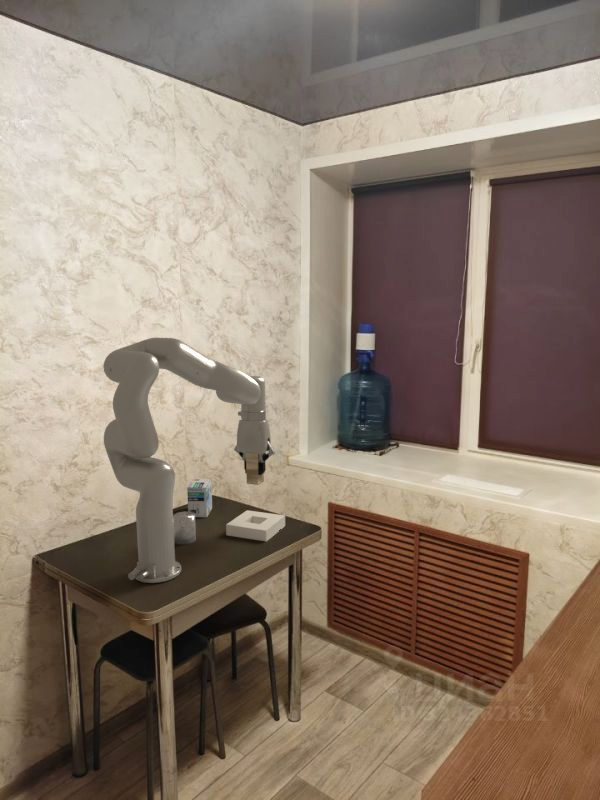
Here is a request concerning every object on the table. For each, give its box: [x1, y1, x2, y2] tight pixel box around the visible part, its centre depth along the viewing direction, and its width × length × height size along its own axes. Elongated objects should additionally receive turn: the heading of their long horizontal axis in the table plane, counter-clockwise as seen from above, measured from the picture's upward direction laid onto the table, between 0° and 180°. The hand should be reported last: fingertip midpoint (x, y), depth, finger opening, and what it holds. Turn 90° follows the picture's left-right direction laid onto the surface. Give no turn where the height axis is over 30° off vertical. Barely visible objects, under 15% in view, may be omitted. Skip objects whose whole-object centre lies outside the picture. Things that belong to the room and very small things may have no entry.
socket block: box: [225, 509, 286, 542], centre depth 186 cm, size 14×14×4 cm
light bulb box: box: [186, 478, 213, 518], centre depth 203 cm, size 11×7×11 cm, turn 179°
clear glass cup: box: [173, 511, 197, 545], centre depth 178 cm, size 7×7×8 cm
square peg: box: [245, 453, 265, 486], centre depth 183 cm, size 4×4×10 cm
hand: (255, 472), depth 183 cm, fingers closed on square peg, 4 cm apart
